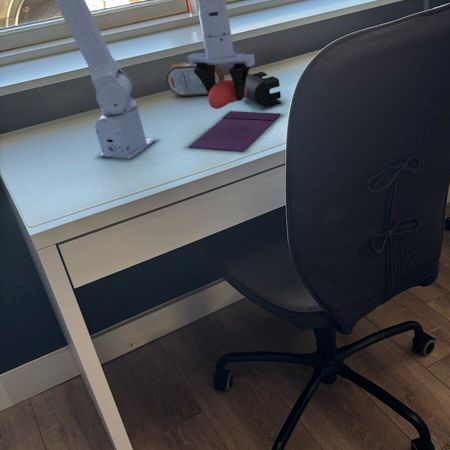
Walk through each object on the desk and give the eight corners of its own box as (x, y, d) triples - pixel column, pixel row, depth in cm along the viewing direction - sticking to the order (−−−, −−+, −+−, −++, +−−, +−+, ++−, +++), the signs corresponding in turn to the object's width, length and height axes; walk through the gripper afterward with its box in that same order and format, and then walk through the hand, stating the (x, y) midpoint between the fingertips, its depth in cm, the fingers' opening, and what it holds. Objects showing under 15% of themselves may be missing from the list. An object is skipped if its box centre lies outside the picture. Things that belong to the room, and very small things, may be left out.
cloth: (243, 151, 115) (243, 149, 115) (188, 147, 120) (188, 145, 119) (281, 115, 131) (280, 113, 130) (231, 112, 135) (230, 110, 135)
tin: (226, 90, 149) (221, 59, 145) (224, 95, 147) (218, 62, 142) (172, 94, 151) (165, 63, 147) (168, 98, 149) (161, 66, 144)
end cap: (238, 101, 141) (234, 75, 138) (263, 94, 144) (259, 68, 141) (257, 112, 134) (253, 84, 130) (282, 104, 137) (279, 76, 133)
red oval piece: (206, 110, 123) (197, 90, 118) (237, 85, 125) (229, 65, 120) (221, 122, 121) (212, 103, 116) (252, 97, 123) (245, 76, 118)
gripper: (257, 28, 114) (265, 93, 121) (195, 28, 119) (206, 90, 127) (242, 37, 109) (251, 105, 116) (177, 37, 114) (190, 102, 121)
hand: (227, 98), depth 121 cm, fingers closed on red oval piece, 6 cm apart
